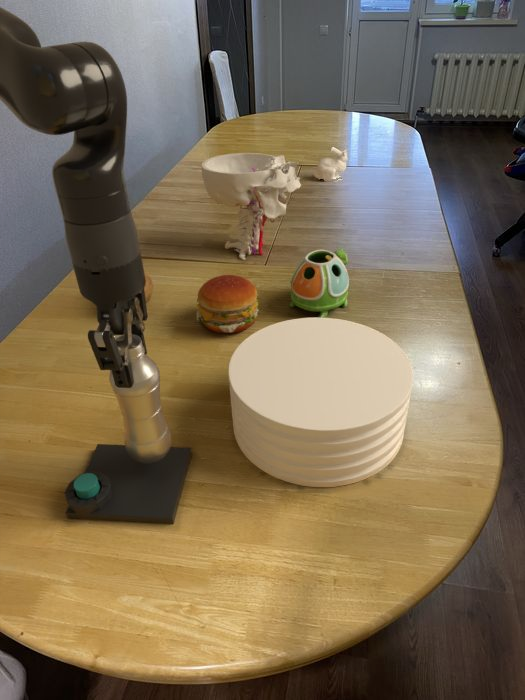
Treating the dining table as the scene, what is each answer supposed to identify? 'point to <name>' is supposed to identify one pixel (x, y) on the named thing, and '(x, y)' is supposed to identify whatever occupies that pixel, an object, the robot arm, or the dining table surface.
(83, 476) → the button
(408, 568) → the dining table surface
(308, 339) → the plate stack
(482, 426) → the dining table surface
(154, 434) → the plastic bottle
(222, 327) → the burger
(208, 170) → the skull
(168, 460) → the scale
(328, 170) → the rabbit
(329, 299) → the turtle holder
